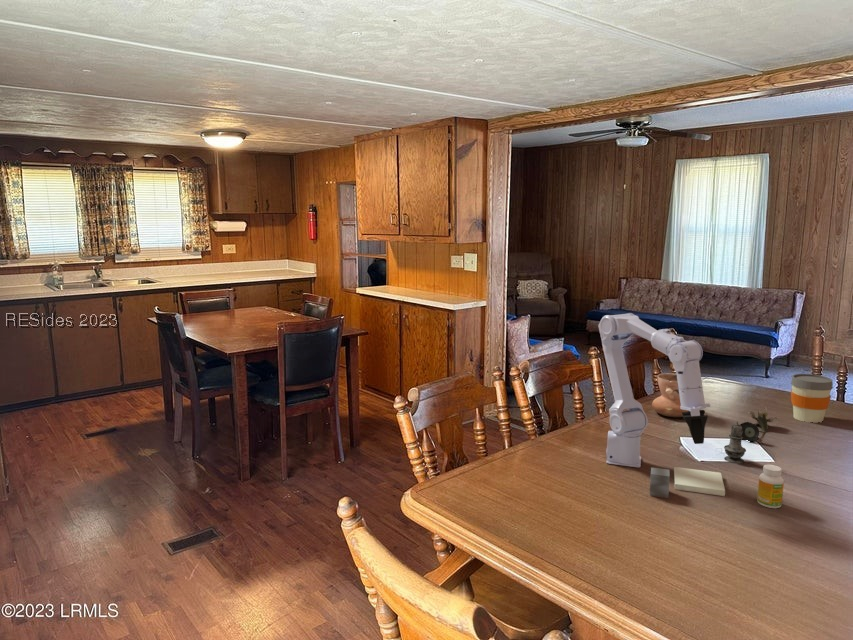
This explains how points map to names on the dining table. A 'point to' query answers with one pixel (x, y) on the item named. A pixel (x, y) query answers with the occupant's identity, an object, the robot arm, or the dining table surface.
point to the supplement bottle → (770, 487)
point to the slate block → (659, 482)
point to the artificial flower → (750, 429)
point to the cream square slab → (699, 481)
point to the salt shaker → (735, 445)
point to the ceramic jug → (668, 396)
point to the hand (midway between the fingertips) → (697, 441)
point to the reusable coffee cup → (810, 396)
